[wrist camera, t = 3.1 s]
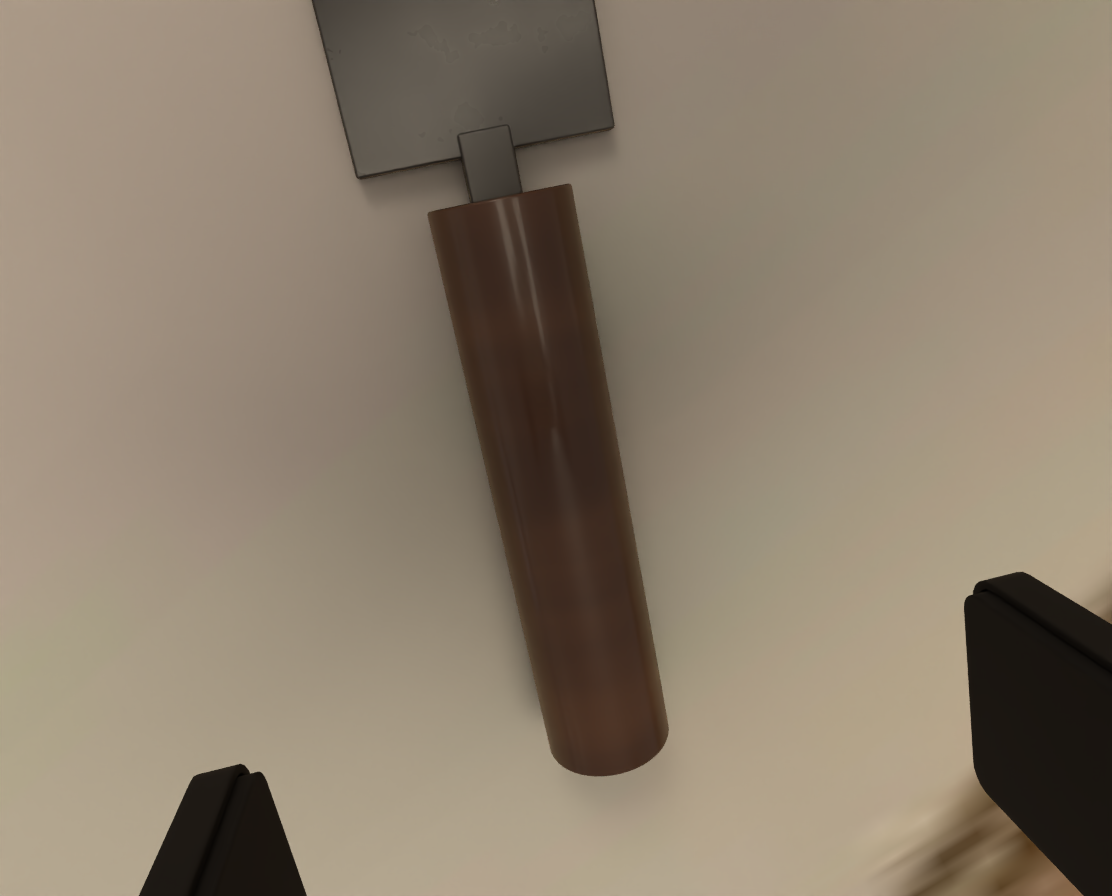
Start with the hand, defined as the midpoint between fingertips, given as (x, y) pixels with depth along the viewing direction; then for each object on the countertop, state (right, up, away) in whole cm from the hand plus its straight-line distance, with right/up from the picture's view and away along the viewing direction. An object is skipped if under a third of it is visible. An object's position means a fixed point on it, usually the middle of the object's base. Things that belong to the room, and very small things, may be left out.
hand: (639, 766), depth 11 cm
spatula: (-2, +8, +10) cm, 12 cm away
